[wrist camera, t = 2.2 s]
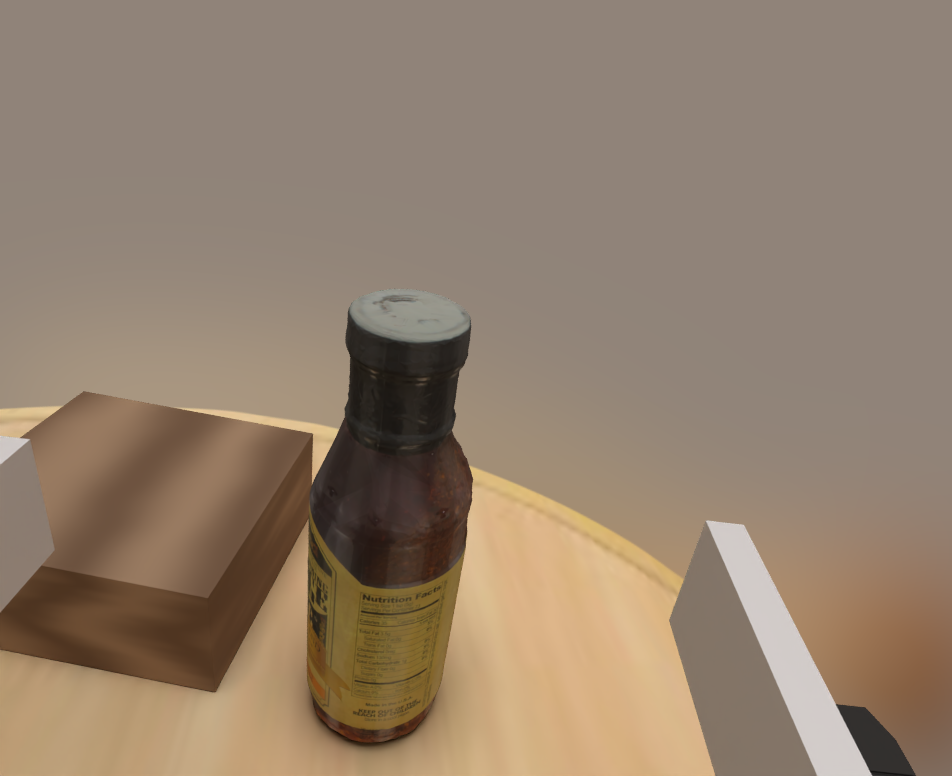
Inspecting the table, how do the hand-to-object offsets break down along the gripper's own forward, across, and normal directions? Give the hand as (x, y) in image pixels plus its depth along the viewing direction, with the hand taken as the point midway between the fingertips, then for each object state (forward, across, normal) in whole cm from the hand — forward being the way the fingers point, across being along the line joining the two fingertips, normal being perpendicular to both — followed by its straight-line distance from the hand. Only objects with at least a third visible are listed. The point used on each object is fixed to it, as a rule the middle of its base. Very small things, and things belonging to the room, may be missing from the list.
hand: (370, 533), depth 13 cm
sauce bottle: (+10, -1, -19) cm, 22 cm away
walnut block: (+17, -14, -19) cm, 29 cm away
